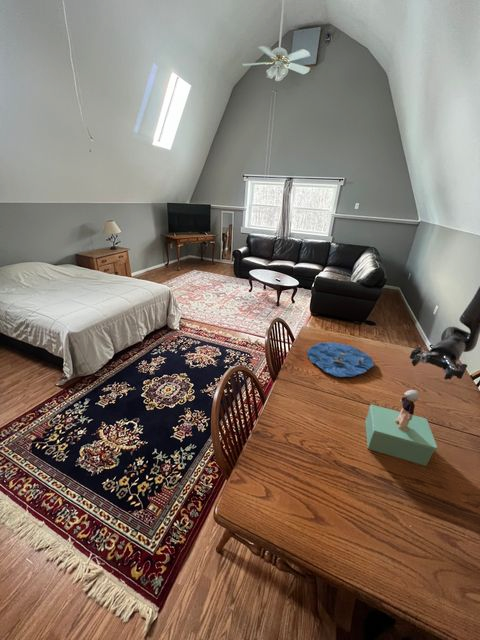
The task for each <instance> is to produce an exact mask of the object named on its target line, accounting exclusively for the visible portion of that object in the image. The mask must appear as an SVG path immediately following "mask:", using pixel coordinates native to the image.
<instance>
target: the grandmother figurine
mask: <svg viewBox="0 0 480 640" xmlns="http://www.w3.org/2000/svg"><path fill="white" fill-rule="evenodd" d="M418 398H420V393H419V391H417V390H415V389H409V390H407V391H405V392H404V396H402V397H401V398H400V399H399V402H400V404H401V406H402V407H401V409H400V411H399V412H400V414H399V417H398V419H396V420H395V422H396V423H397V424H400V425H398V428H399V429H401V430H403V431H408V427H407V426H406V425H408V424H409V420H412V417H413V415H415V402H417V401H418Z"/></svg>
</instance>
